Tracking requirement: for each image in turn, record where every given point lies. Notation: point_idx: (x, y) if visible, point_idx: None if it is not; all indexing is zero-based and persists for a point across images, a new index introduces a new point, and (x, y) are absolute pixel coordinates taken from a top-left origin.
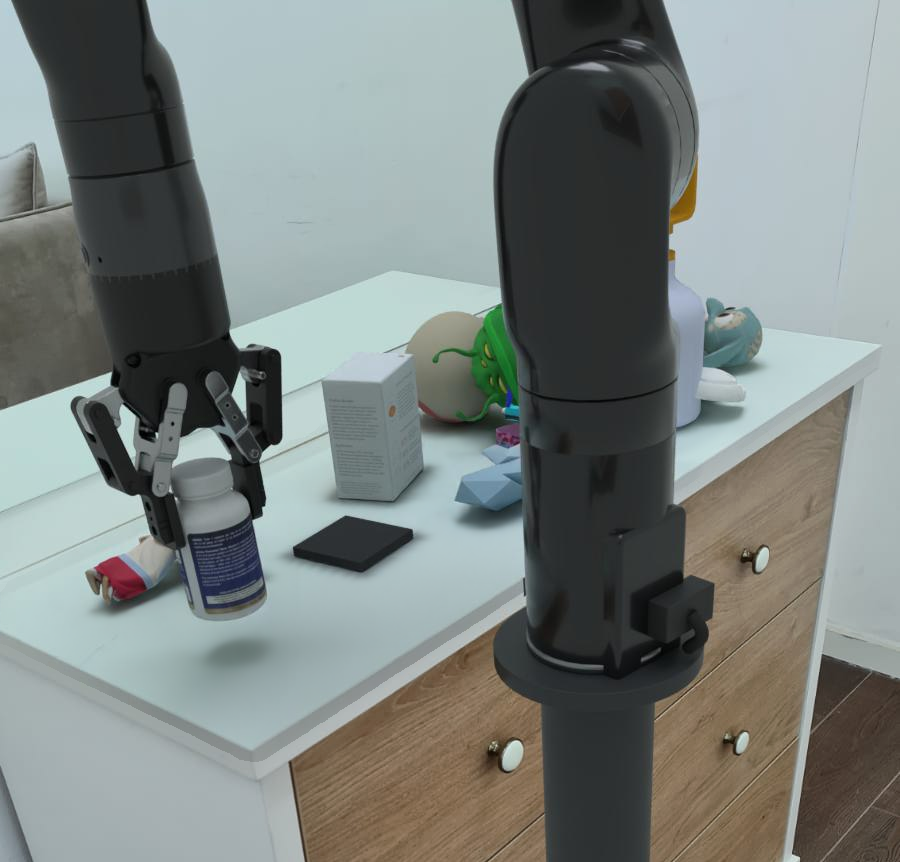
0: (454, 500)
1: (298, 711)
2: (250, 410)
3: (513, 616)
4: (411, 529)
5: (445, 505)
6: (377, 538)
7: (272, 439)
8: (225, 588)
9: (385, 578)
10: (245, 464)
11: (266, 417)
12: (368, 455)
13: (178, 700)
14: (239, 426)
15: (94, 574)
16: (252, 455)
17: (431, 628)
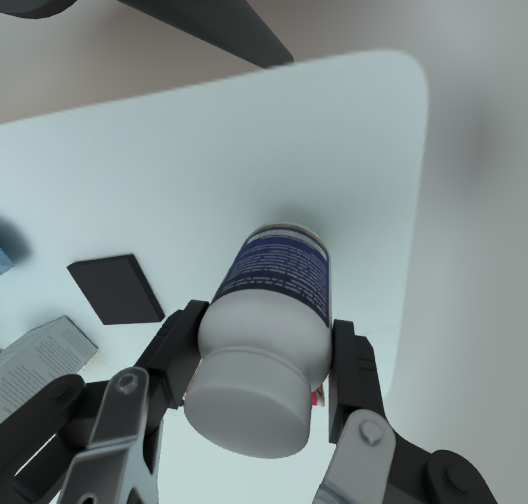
0: (13, 265)
1: (337, 70)
2: (54, 481)
3: (34, 2)
4: (67, 267)
5: (32, 281)
6: (97, 278)
7: (71, 388)
8: (306, 247)
9: (121, 229)
10: (158, 377)
11: (29, 443)
12: (44, 357)
13: (397, 207)
14: (100, 465)
15: (320, 399)
16: (134, 381)
17: (127, 108)
